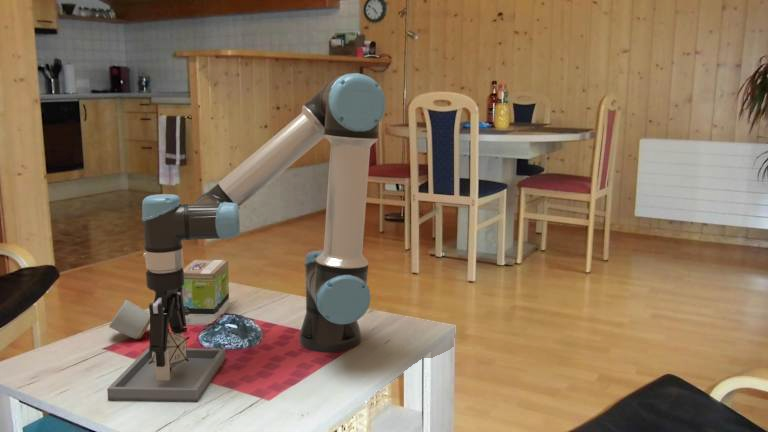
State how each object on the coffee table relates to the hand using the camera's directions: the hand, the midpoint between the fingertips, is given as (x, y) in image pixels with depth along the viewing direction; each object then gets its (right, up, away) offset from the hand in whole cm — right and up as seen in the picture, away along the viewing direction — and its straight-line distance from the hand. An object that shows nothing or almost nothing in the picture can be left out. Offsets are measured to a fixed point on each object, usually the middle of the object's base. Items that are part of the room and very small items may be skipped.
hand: (170, 370), depth 148 cm
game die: (0, -1, 0) cm, 1 cm away
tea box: (-3, +5, +40) cm, 40 cm away
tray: (0, -2, 0) cm, 2 cm away
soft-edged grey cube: (-17, +3, +25) cm, 31 cm away
